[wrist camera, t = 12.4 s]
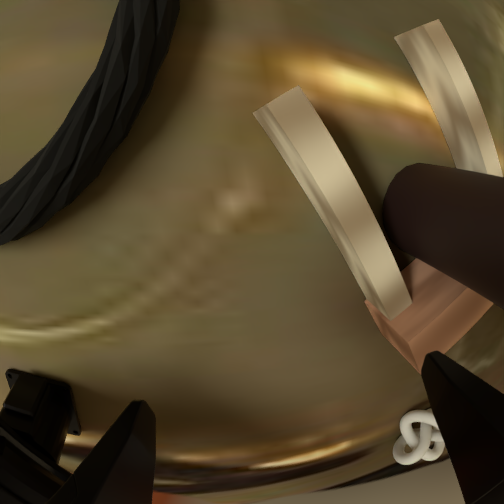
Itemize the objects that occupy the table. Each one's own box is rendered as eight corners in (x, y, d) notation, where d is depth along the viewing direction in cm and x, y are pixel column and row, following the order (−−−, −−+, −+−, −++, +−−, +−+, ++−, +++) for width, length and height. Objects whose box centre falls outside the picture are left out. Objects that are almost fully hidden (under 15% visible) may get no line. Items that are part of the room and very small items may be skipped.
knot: (449, 395, 31) (474, 422, 25) (415, 439, 32) (435, 467, 27) (413, 396, 29) (441, 429, 23) (377, 444, 30) (397, 477, 25)
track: (490, 230, 23) (536, 249, 18) (380, 333, 24) (420, 374, 18) (411, 29, 17) (464, 10, 11) (249, 115, 17) (275, 98, 12)
